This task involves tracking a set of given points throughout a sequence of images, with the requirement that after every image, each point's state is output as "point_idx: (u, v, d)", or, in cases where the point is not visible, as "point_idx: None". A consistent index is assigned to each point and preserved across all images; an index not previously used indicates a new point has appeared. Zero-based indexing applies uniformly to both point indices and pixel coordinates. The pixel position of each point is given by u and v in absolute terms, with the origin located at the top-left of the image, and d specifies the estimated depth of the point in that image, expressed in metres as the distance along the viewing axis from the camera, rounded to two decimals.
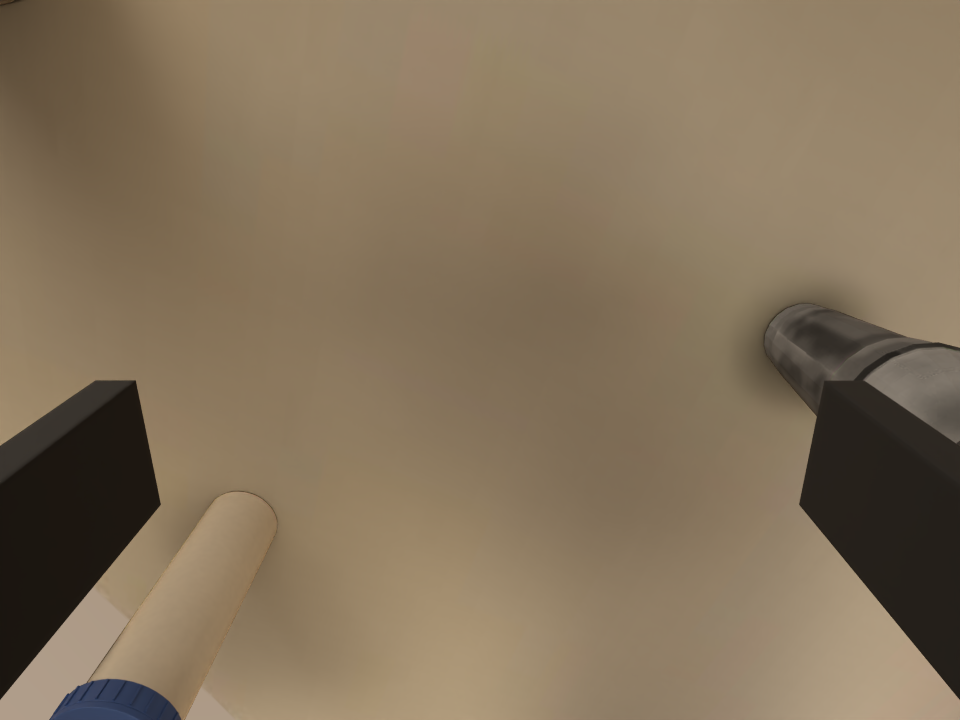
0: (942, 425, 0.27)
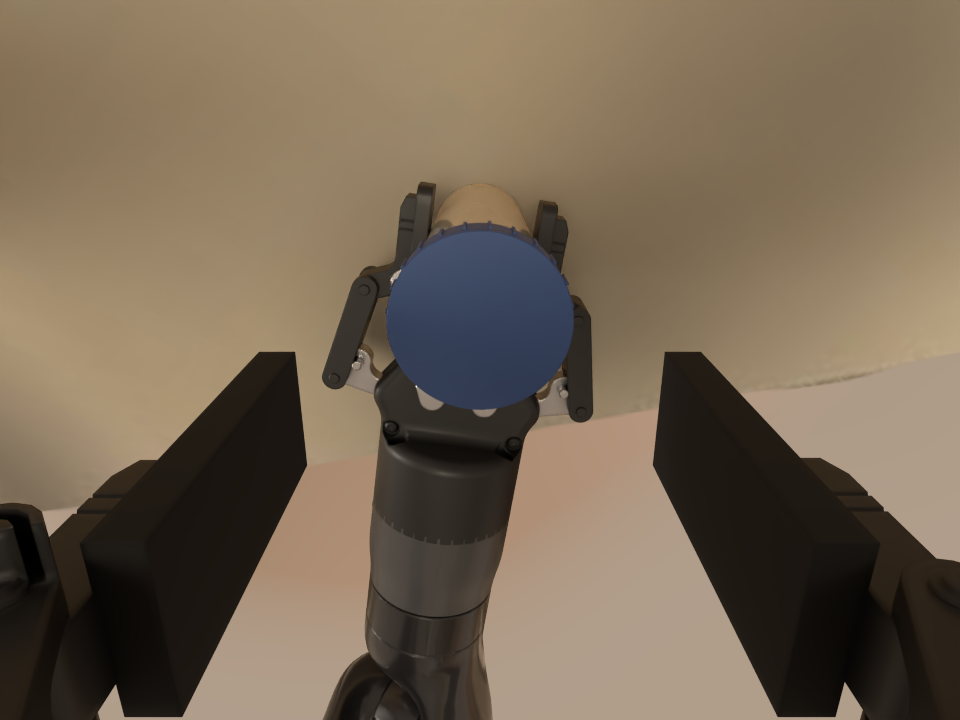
0: None
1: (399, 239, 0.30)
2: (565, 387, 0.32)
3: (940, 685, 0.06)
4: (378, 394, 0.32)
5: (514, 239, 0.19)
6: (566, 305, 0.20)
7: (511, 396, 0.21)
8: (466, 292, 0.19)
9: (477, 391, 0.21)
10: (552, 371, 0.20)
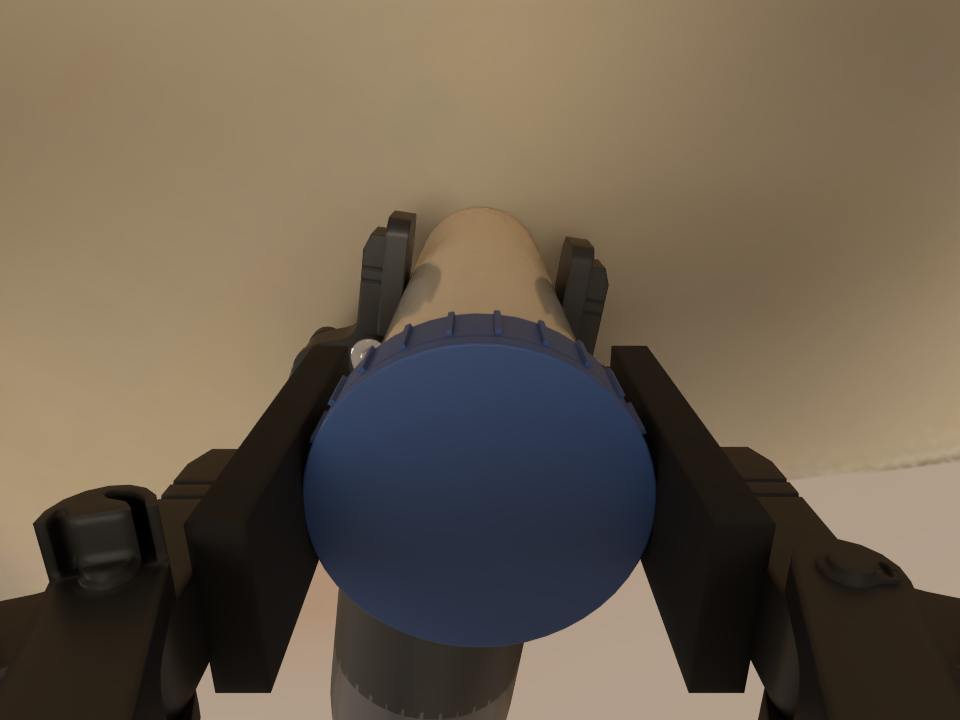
0: None
1: (362, 295, 0.21)
2: None
3: (824, 662, 0.06)
4: None
5: (547, 359, 0.10)
6: (644, 476, 0.10)
7: (536, 626, 0.11)
8: (453, 454, 0.10)
9: (474, 618, 0.11)
10: (612, 586, 0.11)
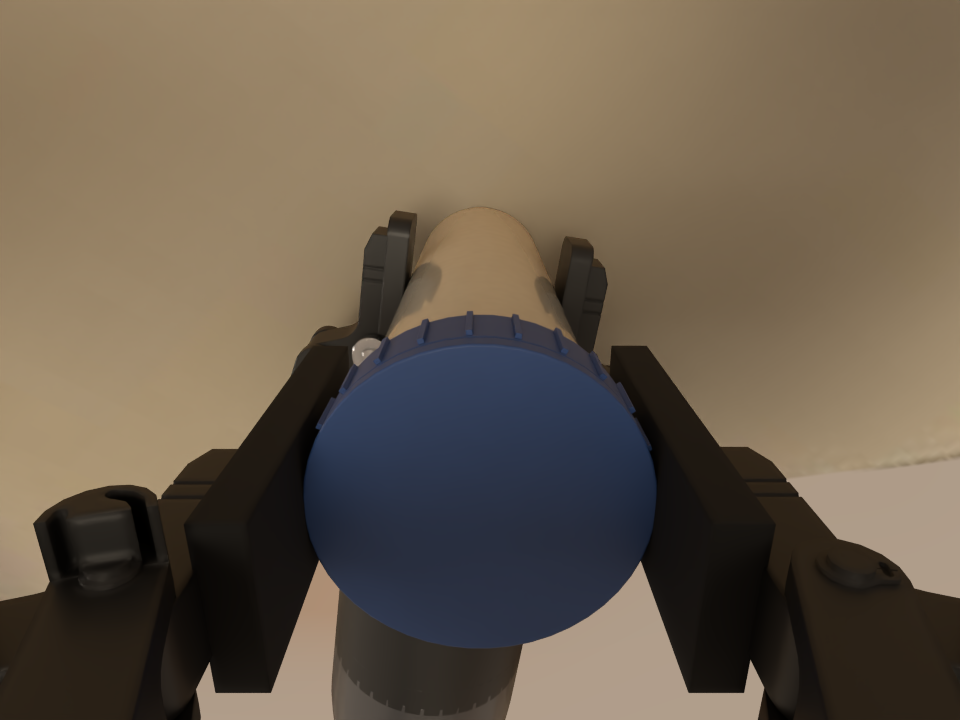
0: None
1: (363, 294, 0.21)
2: None
3: (824, 661, 0.06)
4: None
5: (307, 520, 0.10)
6: (371, 390, 0.10)
7: (596, 405, 0.10)
8: (433, 552, 0.11)
9: (610, 466, 0.10)
10: (511, 354, 0.10)
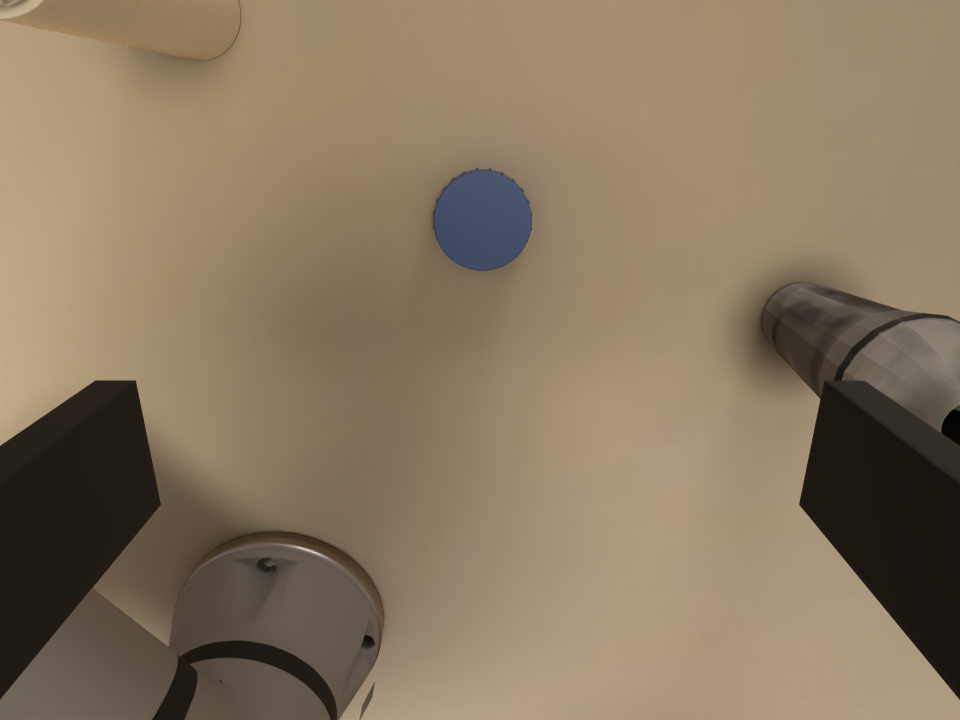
0: None
1: None
2: None
3: None
4: None
5: (513, 183, 0.37)
6: (528, 225, 0.38)
7: (486, 265, 0.39)
8: (481, 203, 0.37)
9: (470, 257, 0.39)
10: (511, 258, 0.39)
